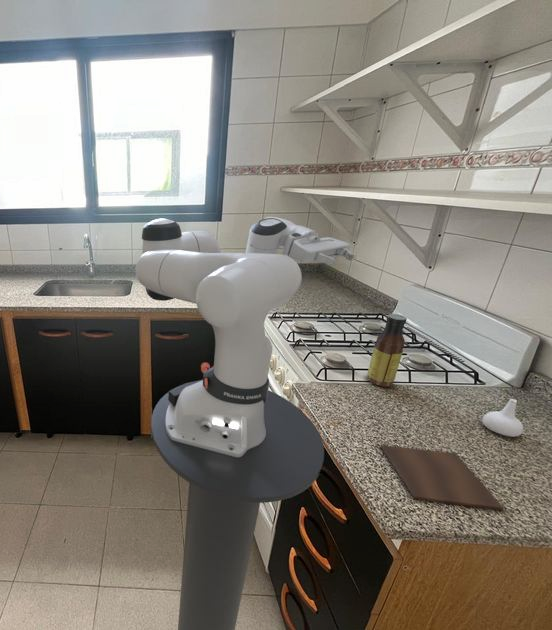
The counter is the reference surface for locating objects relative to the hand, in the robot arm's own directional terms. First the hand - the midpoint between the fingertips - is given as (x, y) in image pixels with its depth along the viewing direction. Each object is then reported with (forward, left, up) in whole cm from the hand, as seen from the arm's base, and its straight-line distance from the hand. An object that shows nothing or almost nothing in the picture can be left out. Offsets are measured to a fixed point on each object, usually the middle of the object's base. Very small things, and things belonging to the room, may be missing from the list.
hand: (344, 259), depth 98 cm
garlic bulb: (+29, -30, -31) cm, 52 cm away
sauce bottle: (+11, -14, -31) cm, 36 cm away
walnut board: (+7, -47, -31) cm, 56 cm away
